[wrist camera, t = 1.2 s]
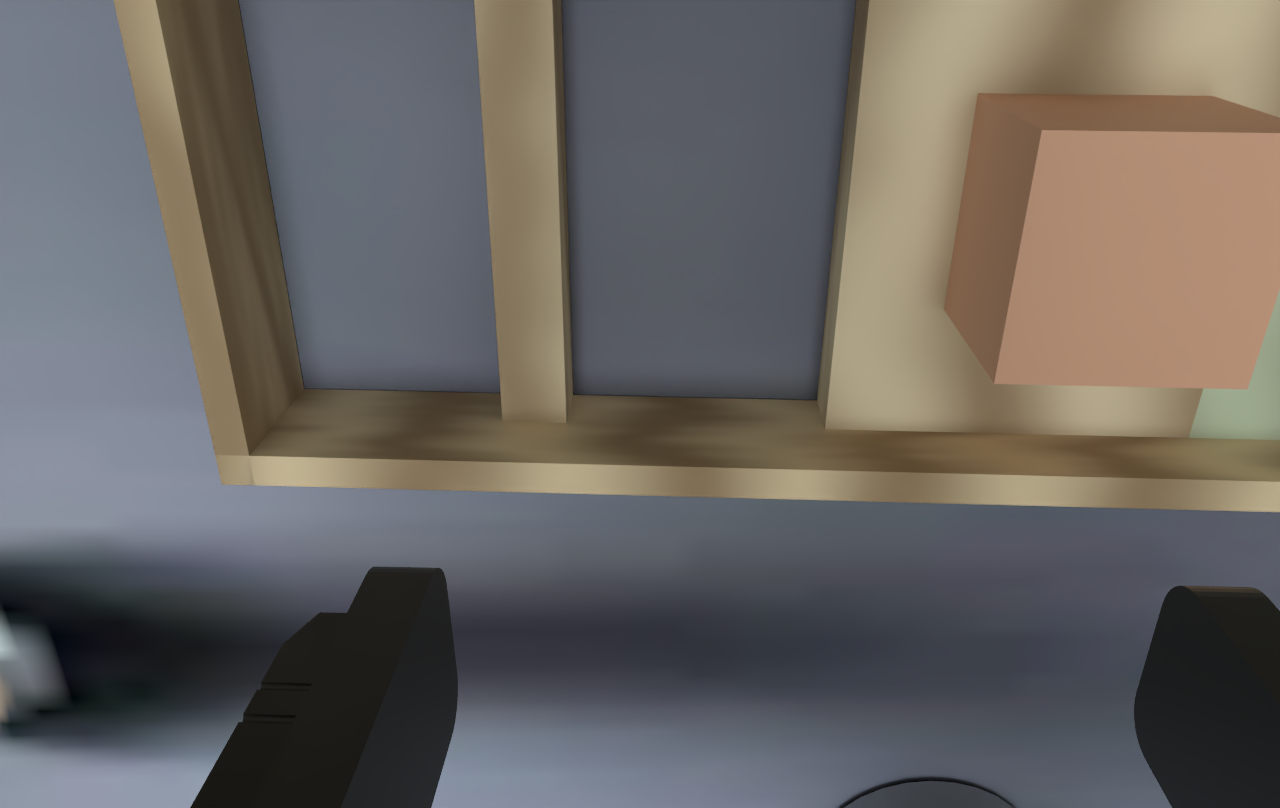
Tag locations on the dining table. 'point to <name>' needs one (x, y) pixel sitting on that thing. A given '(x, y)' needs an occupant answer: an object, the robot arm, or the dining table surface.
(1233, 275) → the block
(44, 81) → the dining table surface
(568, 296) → the trap lane
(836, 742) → the dining table surface
